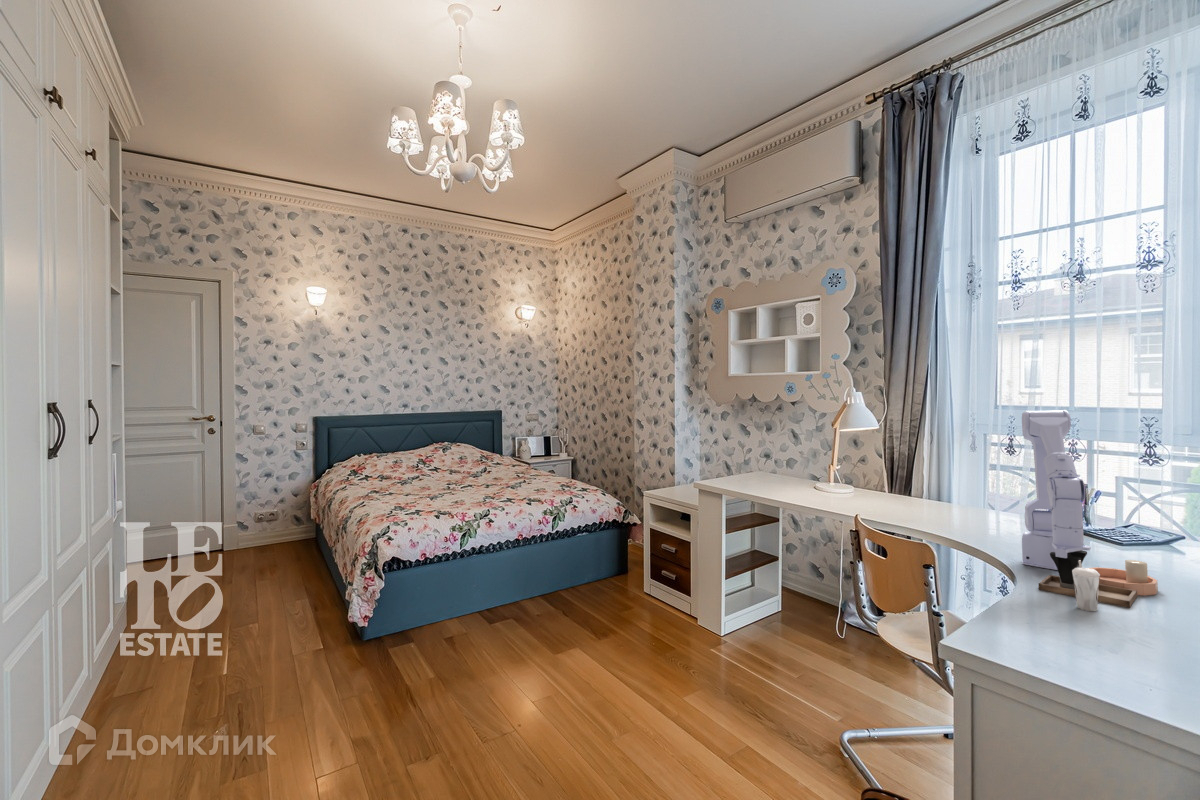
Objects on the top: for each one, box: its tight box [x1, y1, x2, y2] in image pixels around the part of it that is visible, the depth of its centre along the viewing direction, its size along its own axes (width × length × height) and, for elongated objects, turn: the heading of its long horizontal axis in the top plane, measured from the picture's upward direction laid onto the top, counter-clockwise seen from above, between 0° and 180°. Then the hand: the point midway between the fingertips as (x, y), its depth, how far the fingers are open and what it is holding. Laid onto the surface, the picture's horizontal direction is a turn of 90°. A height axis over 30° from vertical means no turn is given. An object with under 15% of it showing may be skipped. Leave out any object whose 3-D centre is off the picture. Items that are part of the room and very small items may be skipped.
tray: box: [1038, 574, 1138, 609], centre depth 126 cm, size 16×10×2 cm, turn 37°
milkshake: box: [1072, 560, 1100, 613], centre depth 117 cm, size 4×5×10 cm
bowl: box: [1088, 566, 1159, 597], centre depth 130 cm, size 13×13×3 cm
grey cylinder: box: [1059, 565, 1080, 590], centre depth 128 cm, size 4×4×6 cm
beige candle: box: [1124, 559, 1149, 584], centre depth 128 cm, size 4×4×6 cm
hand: (1069, 581), depth 128 cm, fingers closed on grey cylinder, 4 cm apart
